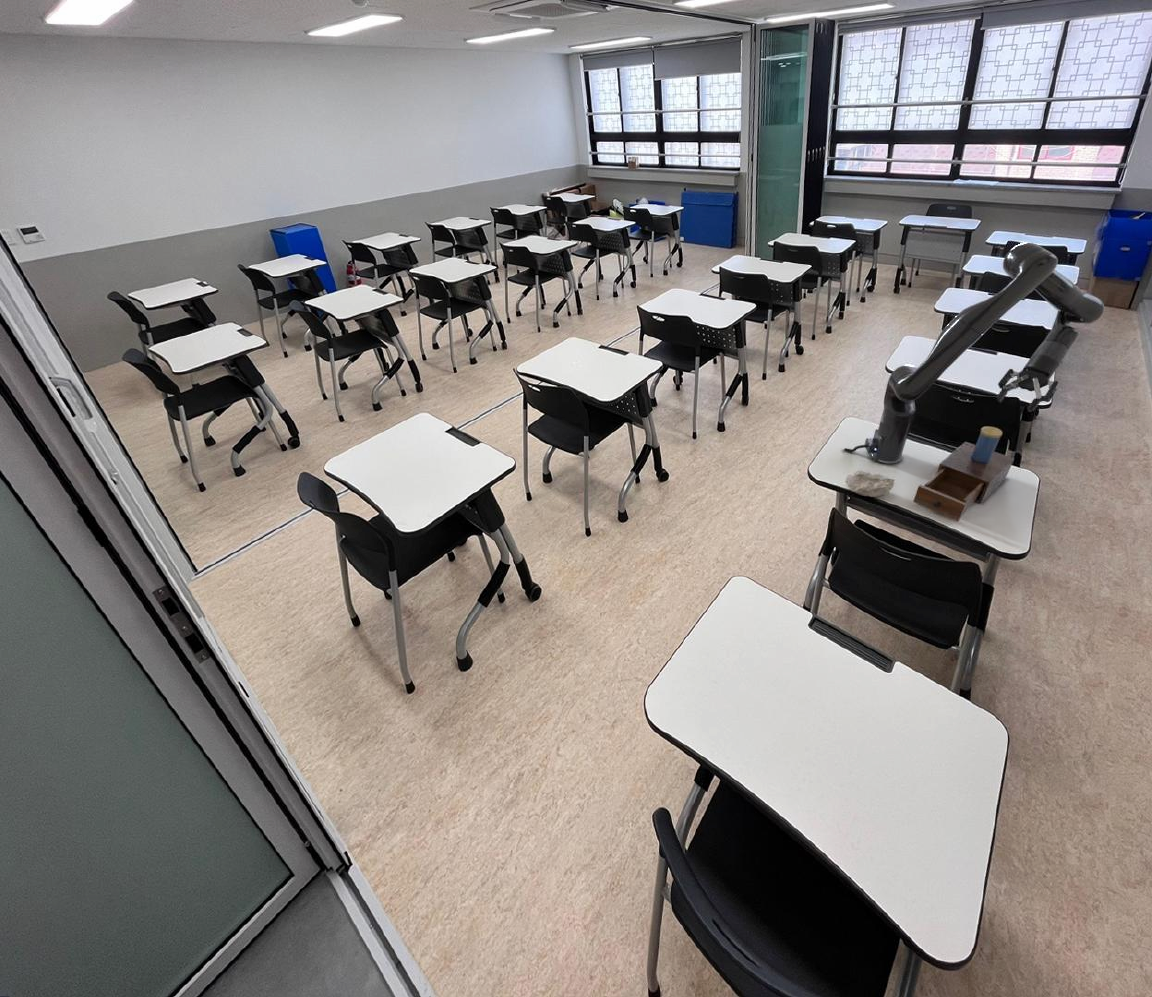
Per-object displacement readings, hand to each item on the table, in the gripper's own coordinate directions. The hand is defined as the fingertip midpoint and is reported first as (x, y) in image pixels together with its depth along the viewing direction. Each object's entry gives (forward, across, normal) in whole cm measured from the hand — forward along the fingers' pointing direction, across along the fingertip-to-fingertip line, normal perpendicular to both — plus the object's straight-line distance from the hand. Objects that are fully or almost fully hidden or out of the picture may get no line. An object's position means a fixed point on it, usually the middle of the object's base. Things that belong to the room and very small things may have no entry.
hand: (1013, 406), depth 177 cm
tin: (+17, 0, +4) cm, 18 cm away
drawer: (+35, +1, -4) cm, 35 cm away
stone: (+45, -17, -14) cm, 50 cm away
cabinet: (+25, 0, +7) cm, 26 cm away
